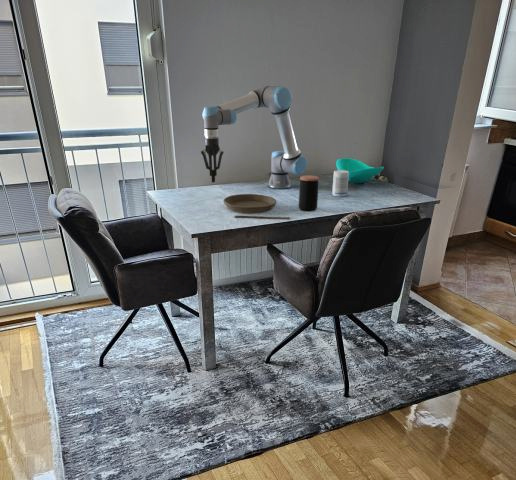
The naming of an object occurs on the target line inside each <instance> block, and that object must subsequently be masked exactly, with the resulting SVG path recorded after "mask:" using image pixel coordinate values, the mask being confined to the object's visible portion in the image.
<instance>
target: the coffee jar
mask: <svg viewBox="0 0 516 480" xmlns="http://www.w3.org/2000/svg"><path fill="white" fill-rule="evenodd" d="M299 180H300V181H299V191H298V192H299V193H298V195H299V196H298V209H299V210H300V211H302V212H309V213H310V212H315V211H316V210H317V209H318V200H319V199H318V198H319V187H320V186H319V185H320V182H319V180H320V177H319V176H317V175H311V174H310V175H309V174H308V175H301V176H300V177H299Z"/></svg>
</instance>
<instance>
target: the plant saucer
mask: <svg viewBox="0 0 516 480" xmlns="http://www.w3.org/2000/svg"><path fill="white" fill-rule="evenodd" d="M223 204H224V206H226V207H227V209H228V210H229V211H232V212H235V213H239V214H261V213H266V212H269V211H271V210H272V209H273V208H274V207H275V205H276V204H277V199H276V198H274V197H272V196H270V195H265V194H256V193H242V194H241V193H239V194H234V195H229V196H227V197H225V198H223Z"/></svg>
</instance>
